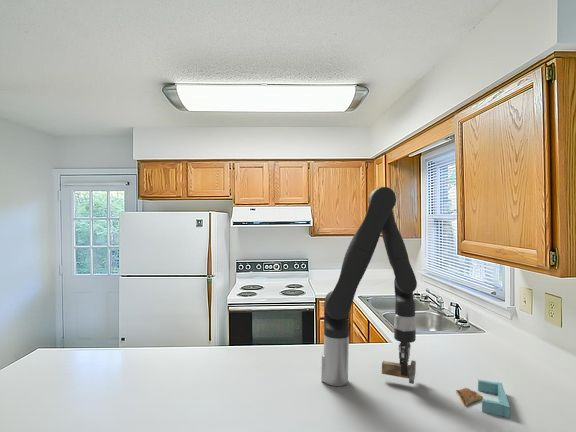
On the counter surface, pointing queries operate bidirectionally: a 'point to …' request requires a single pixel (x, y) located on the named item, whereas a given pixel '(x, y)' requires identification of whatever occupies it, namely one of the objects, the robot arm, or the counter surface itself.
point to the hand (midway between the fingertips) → (404, 373)
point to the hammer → (399, 370)
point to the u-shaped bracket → (493, 406)
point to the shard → (468, 396)
